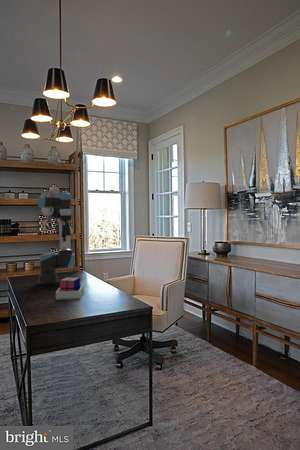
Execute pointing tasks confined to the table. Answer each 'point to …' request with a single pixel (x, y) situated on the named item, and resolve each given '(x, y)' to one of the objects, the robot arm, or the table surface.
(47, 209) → the robot arm
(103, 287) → the table surface
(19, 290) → the table surface
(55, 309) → the table surface
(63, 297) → the bin
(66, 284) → the puzzle cube
